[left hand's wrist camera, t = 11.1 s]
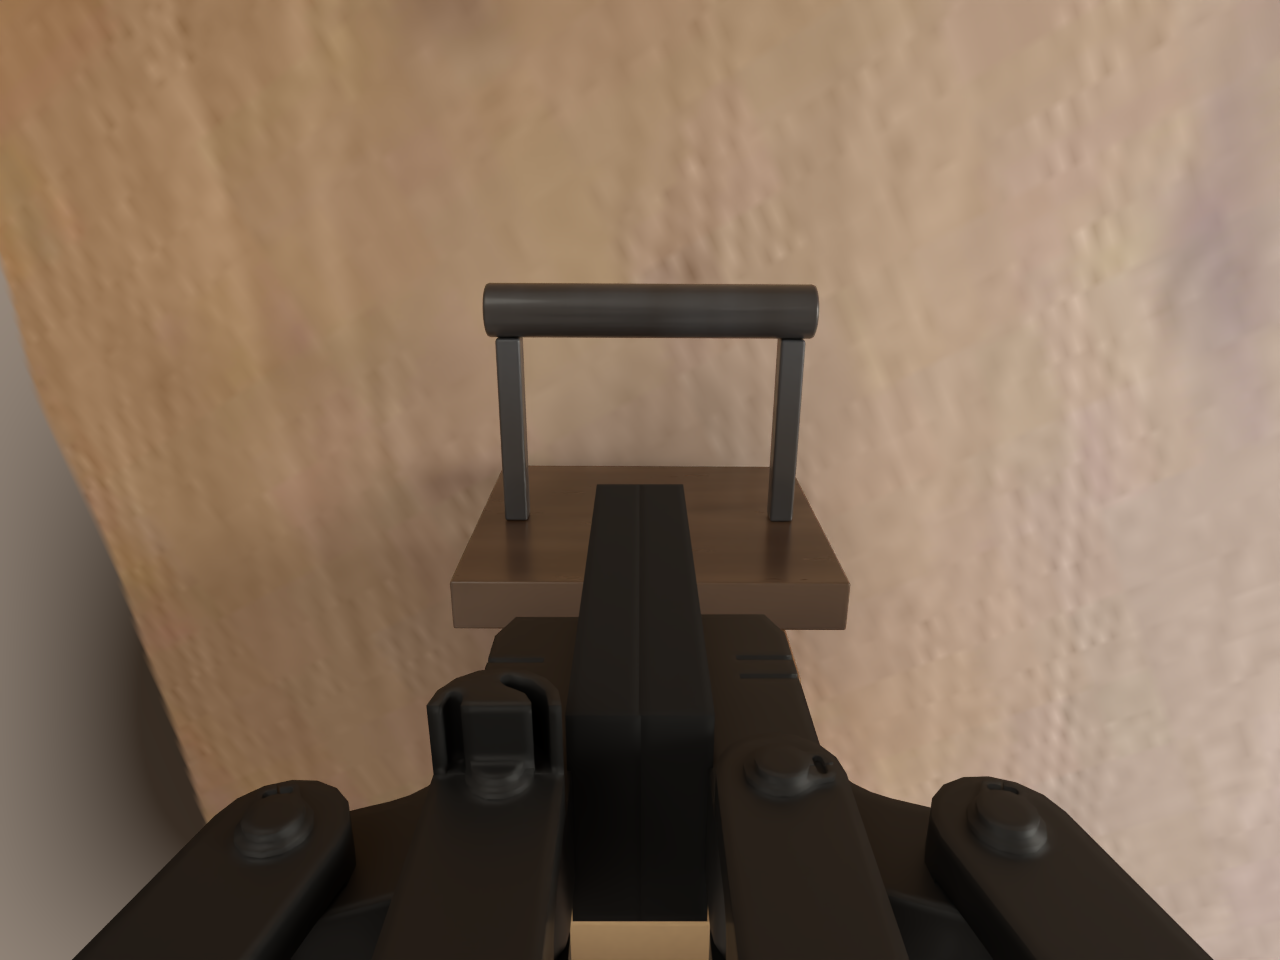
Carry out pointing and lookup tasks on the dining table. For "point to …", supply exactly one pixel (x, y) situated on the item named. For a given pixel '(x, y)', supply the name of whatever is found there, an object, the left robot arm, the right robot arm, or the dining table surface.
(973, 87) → the dining table surface
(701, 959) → the cabinet
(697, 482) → the drawer
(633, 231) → the dining table surface
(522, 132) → the dining table surface
